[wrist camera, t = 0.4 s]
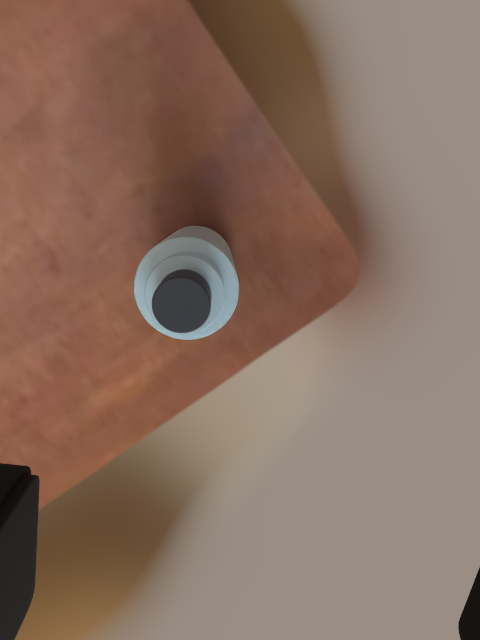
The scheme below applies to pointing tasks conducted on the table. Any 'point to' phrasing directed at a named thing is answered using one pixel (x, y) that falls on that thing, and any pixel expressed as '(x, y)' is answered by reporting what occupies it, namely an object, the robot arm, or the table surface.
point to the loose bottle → (187, 284)
